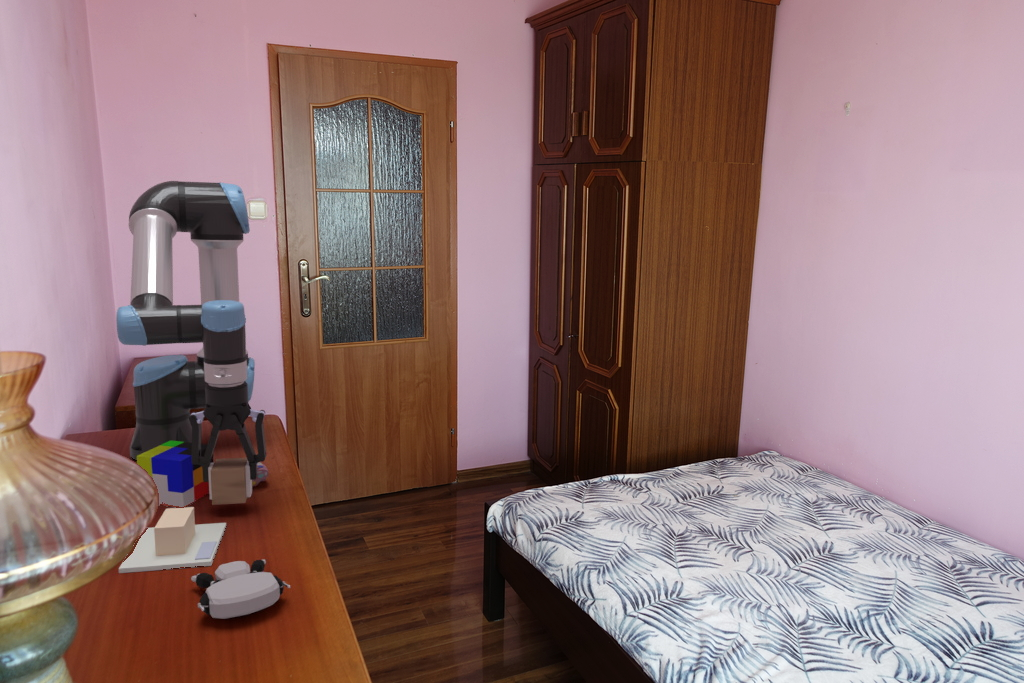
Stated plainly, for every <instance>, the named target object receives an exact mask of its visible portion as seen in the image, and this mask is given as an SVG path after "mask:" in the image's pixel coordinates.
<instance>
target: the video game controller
mask: <svg viewBox="0 0 1024 683" xmlns="http://www.w3.org/2000/svg"><path fill="white" fill-rule="evenodd" d="M269 473H270V472H269V468H267V466H266V465H265V464H264V463H262V462H258V463H257V477H256V479H255V480H252V488H253V486H255V487H256V486H258V484H259V483H261V482H265V481H266V480H267V478H268V477H269Z"/></svg>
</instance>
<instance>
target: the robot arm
mask: <svg viewBox="0 0 1024 683" xmlns="http://www.w3.org/2000/svg"><path fill="white" fill-rule="evenodd" d="M128 228H129V231H130V233H131V235H132V237H133V238H132V256H131V257H132V259H131V260H132V261H131V277H130V278H131V280H130V283H131V284H130V301H129V302H130V303H129V305H125V306H119V307H118V308H117V311H116V317H115V318H116V333H117V338H118V341H119V343H120V344H122V345H125V346H145V347H146V346H152V345H168V344H171V345H172V344H173V345H174V344H197V343H198V344H199V343H201V344H202V347H201V349H200V350H199V351H197V353H196V360H194V361H193V360H191V361H188V360H189V359H188V357H187V356H186V355H185V354H169V355H168V354H167V355H164V356H157V357H153V358H149V359H146V360H144V361H140V363H138V364H136V365H135V367H134V368H133V372H132V373H133V381H132V386H133V389H134V393H133V394H134V405H135V406H134V407H135V418H136V419H135V422H136V424H135V429H134V431H133V436H132V437H131V442H130V445H129V456H130V458H131V457H132V458H133V459H135V460H137V456H138V455H140V454H142V453H144V452H147V451H149V450H151V449H153V448H155V447H157V446H160V445H162V444H164V443H166V442H168V441H180V442H190V443H192V455H191V462H192V464H193V465H196V464H197V465H200V466H202V470H203V481H204V482H209V493H208V494H209V500H212V490H211V469H212V467H213V465H214V463H215V462H214V463H210V461H211V458H212V455H213V456H214V451H215V447H216V444H217V441H218V438H219V435H220V431H223V432H224V431H226V430H228V431H234V432H235V433H236V436H238V439H239V443H240V444H241V446H242V449H243V452H244V454H245V458H247V459H248V461H247V463H246V466H245V471H246V497H247V498H251V496H252V494H253V487H252V480H255V479H256V477H257V463H259V462H261V463H262V462H265V460H266V458H267V445H266V438H265V436H266V435H265V429H264V419H265V416H266V410H264V409H260V410H256V409H252V407H251V406H250V404H249V403H250V401H251V400H252V397H253V396H252V395H253V391H254V385H255V384H254V383H255V366H256V363H255V359H254V358H252V357H249V351H248V350H247V348H246V346H247V343H246V342H247V341H246V340H247V338H246V322H247V321H246V320H247V318H246V313H245V305H244V304H243V302H240V288H239V286H240V285H239V282H240V281H239V260H238V247H239V246H240V245H241V244H242V243H243V242H244V235H247V234H249V233H250V223H249V214H248V209H247V204H246V199H245V195H244V191H243V189H242V188H241V187H240V186H239V185H237V184H234V183H226V182H225V183H224V182H221V181H220V182H209V181H208V182H206V181H205V182H204V181H203V182H202V181H180V180H169V181H163V182H160V183H158V184H157V183H156V185H153V186H151V187H150V188H148V189H146V190H145V191H144V192H143V193H142V194H141V195H140V196H138V198H137V199H136V200H135V202H134V203H133V205H132V207H131V210H130V211H129V216H128ZM177 233H190V241H191V242H192V243H193V244H194V245H195V246H196V247H197V249H198V250H197V251H198V267H199V268H198V269H199V289H200V304H176V305H175V304H174V301H173V300H174V294H173V293H174V292H173V291H174V285H173V284H174V283H173V281H174V280H173V279H174V277H173V275H174V273H173V269H174V268H173V266H174V264H173V238H174V237H175V236H176V235H177ZM195 409H196V410H197V409H203V410H202V411H199V412H197V411H192V412H191V410H195ZM249 417H251V418H252V419H251V420H252V422H254V423H255V424H254V430H255V440H256V448H257V454H256V451H255V449H254V447H253V443H252V440H251V438H250V436H249V434H248V431H247V428H246V427H247V426H246V424H245V422H246V421H247V419H248V418H249ZM204 418H205V419H206V420H207V421H208V422H209V423H210V424H211V425H212V428H211V431H210V436H209V438H208V441H207V444H208V445H207V448H206V451H205V455H204V457H202V456H201V444H202V423H203V422H204ZM132 458H131V459H132ZM133 459H132V460H133ZM135 460H134V461H135Z"/></svg>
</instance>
